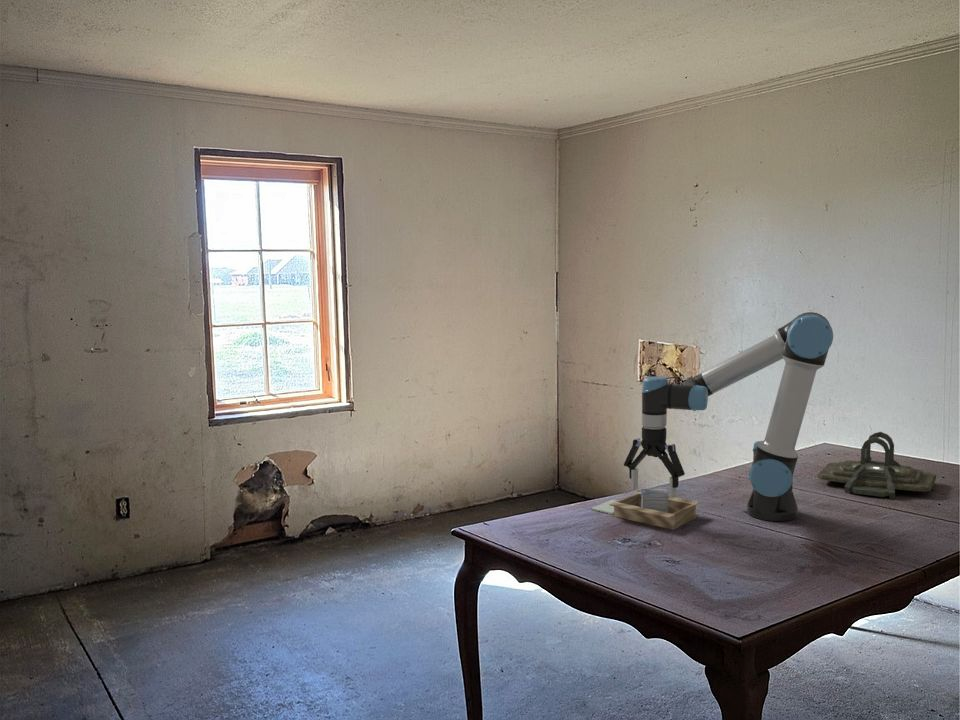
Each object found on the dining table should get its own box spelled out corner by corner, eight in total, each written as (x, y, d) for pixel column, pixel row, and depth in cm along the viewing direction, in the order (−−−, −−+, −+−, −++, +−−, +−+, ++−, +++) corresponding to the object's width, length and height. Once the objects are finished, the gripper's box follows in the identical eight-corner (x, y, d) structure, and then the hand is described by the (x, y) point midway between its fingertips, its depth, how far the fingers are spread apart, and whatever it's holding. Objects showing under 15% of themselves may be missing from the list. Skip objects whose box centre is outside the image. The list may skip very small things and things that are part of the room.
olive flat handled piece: (811, 491, 280) (812, 439, 278) (832, 468, 307) (833, 421, 305) (927, 505, 260) (929, 450, 258) (938, 480, 287) (940, 430, 285)
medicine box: (666, 515, 258) (666, 488, 257) (668, 519, 254) (668, 492, 252) (641, 515, 259) (641, 488, 258) (642, 519, 254) (642, 492, 253)
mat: (632, 505, 269) (632, 503, 269) (611, 514, 260) (611, 512, 260) (612, 501, 274) (612, 499, 274) (591, 509, 265) (591, 508, 265)
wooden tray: (700, 516, 256) (700, 502, 255) (668, 531, 242) (668, 517, 242) (642, 503, 270) (642, 490, 270) (609, 518, 256) (609, 504, 256)
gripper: (696, 430, 247) (695, 498, 250) (626, 419, 264) (625, 483, 267) (684, 434, 241) (682, 503, 244) (613, 423, 258) (612, 488, 261)
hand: (653, 493), depth 255 cm, fingers open, 13 cm apart
